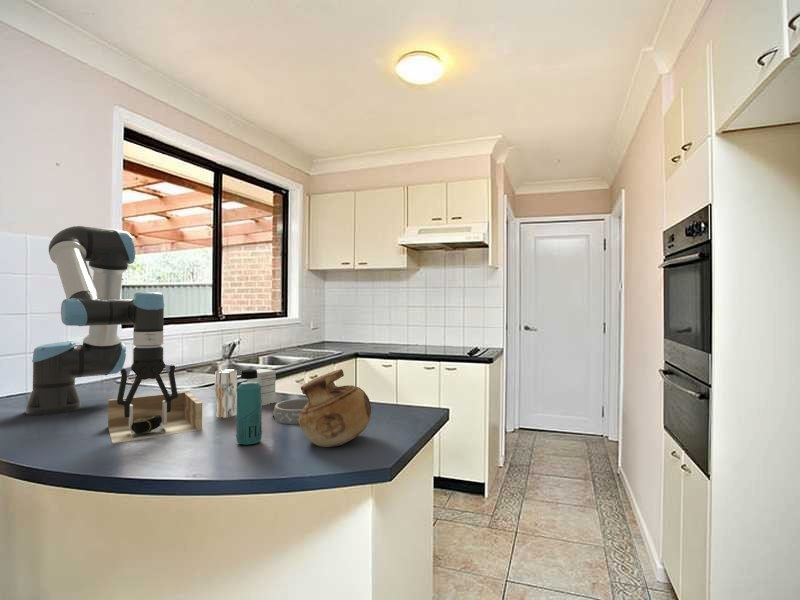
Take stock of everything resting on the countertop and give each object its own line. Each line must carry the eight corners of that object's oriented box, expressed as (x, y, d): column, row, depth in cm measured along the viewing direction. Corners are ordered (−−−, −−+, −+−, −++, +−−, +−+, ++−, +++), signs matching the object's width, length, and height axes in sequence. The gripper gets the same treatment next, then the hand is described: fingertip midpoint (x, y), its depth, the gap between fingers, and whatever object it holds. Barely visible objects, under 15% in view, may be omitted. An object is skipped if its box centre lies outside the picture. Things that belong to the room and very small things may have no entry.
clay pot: (308, 434, 129) (309, 364, 129) (373, 435, 128) (374, 364, 128) (290, 457, 110) (290, 375, 110) (366, 458, 109) (367, 375, 109)
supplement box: (246, 405, 163) (246, 370, 163) (262, 401, 169) (263, 368, 169) (259, 408, 159) (259, 372, 159) (276, 404, 165) (276, 370, 165)
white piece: (209, 418, 145) (209, 371, 145) (225, 413, 152) (225, 368, 152) (226, 420, 142) (226, 373, 142) (241, 415, 149) (242, 370, 149)
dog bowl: (278, 430, 133) (278, 412, 133) (269, 416, 150) (269, 399, 150) (334, 424, 140) (334, 407, 140) (319, 411, 157) (319, 395, 157)
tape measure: (163, 424, 130) (161, 412, 130) (157, 432, 124) (154, 419, 123) (138, 430, 129) (135, 417, 128) (130, 438, 122) (127, 425, 122)
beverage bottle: (247, 452, 113) (247, 372, 113) (230, 447, 117) (230, 370, 117) (267, 445, 119) (268, 369, 119) (250, 440, 122) (251, 367, 122)
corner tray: (108, 427, 134) (108, 399, 134) (188, 416, 147) (188, 391, 147) (112, 445, 118) (112, 413, 118) (202, 431, 131) (202, 402, 131)
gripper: (106, 349, 120) (105, 435, 120) (190, 345, 132) (189, 423, 132) (104, 347, 126) (104, 428, 126) (185, 343, 138) (184, 417, 138)
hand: (147, 425), depth 129 cm, fingers closed on tape measure, 8 cm apart
